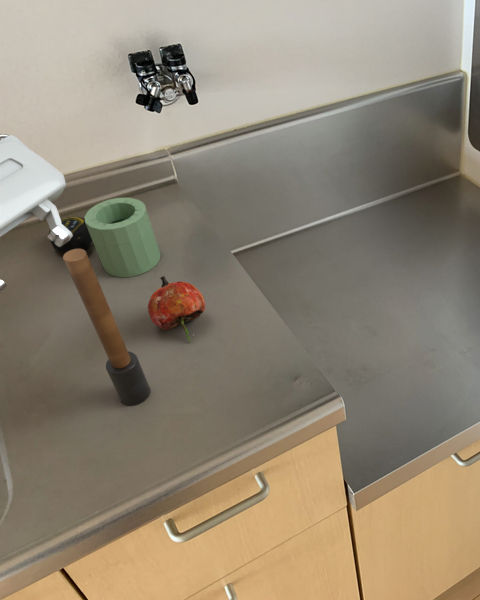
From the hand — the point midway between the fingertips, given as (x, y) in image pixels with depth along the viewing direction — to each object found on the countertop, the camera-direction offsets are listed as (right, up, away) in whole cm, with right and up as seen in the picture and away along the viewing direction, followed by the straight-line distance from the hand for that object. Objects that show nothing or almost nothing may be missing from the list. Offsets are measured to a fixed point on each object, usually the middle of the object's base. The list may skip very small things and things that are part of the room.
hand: (35, 265), depth 66 cm
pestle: (+6, -16, +11) cm, 20 cm away
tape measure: (-13, +5, +35) cm, 37 cm away
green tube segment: (-3, +3, +31) cm, 32 cm away
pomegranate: (+9, -8, +20) cm, 23 cm away
